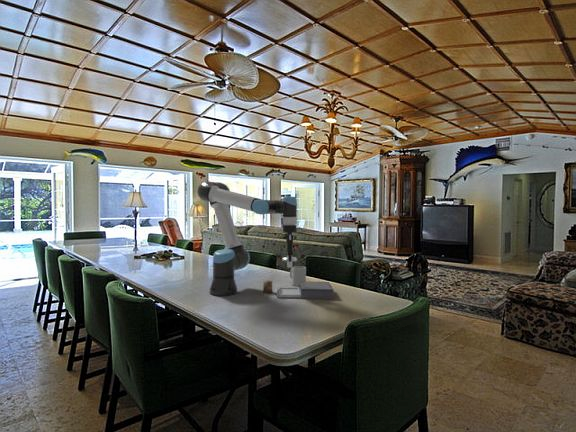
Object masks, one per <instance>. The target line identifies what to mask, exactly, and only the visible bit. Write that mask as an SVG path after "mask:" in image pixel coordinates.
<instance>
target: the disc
mask: <svg viewBox="0 0 576 432" xmlns="http://www.w3.org/2000/svg"><path fill="white" fill-rule="evenodd" d="M281 258H282V262H284V263H287V256H284V257H281ZM296 262H298V258H297V257H296V256H292V263H296Z"/></svg>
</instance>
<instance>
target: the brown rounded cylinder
mask: <svg viewBox="0 0 576 432" xmlns="http://www.w3.org/2000/svg"><path fill="white" fill-rule="evenodd" d="M262 286H263V293H264V294H271V293H273V280H268V279H267V280H263V285H262Z"/></svg>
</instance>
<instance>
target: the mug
mask: <svg viewBox="0 0 576 432" xmlns="http://www.w3.org/2000/svg"><path fill="white" fill-rule="evenodd" d="M289 277H290V279H291V285H292V287H299V282H307V281H306V280H307V267H306V266H302V265H296V266H294V265H293V266H292V267H291V268H290V271H289Z"/></svg>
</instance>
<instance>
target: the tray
mask: <svg viewBox="0 0 576 432" xmlns="http://www.w3.org/2000/svg"><path fill="white" fill-rule="evenodd" d="M279 285H280V284H279V282H277V283H276V298H300V299H301V289H300V288H299V287H297V286H292V287H289V286H288V287H287V286H285V287H284V286H283V287H282V286H281V287H280V286H279Z"/></svg>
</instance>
